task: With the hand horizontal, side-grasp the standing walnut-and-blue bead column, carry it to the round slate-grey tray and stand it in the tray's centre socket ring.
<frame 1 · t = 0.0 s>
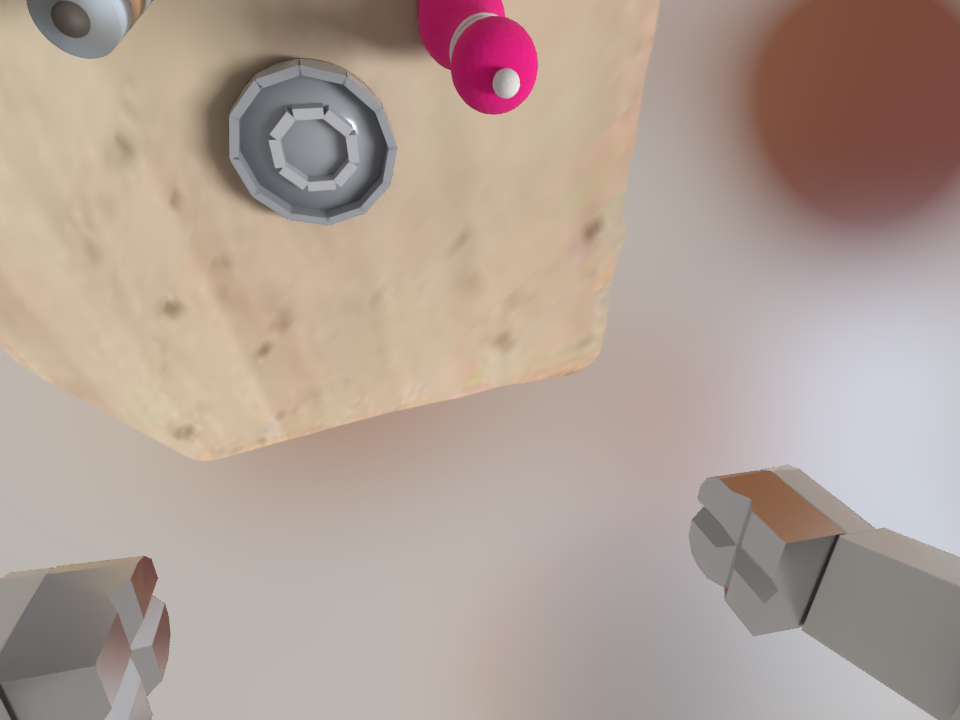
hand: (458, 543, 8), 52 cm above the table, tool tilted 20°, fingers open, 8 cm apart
pepper mill: (451, 9, 49), on the table
tray: (315, 142, 54), on the table
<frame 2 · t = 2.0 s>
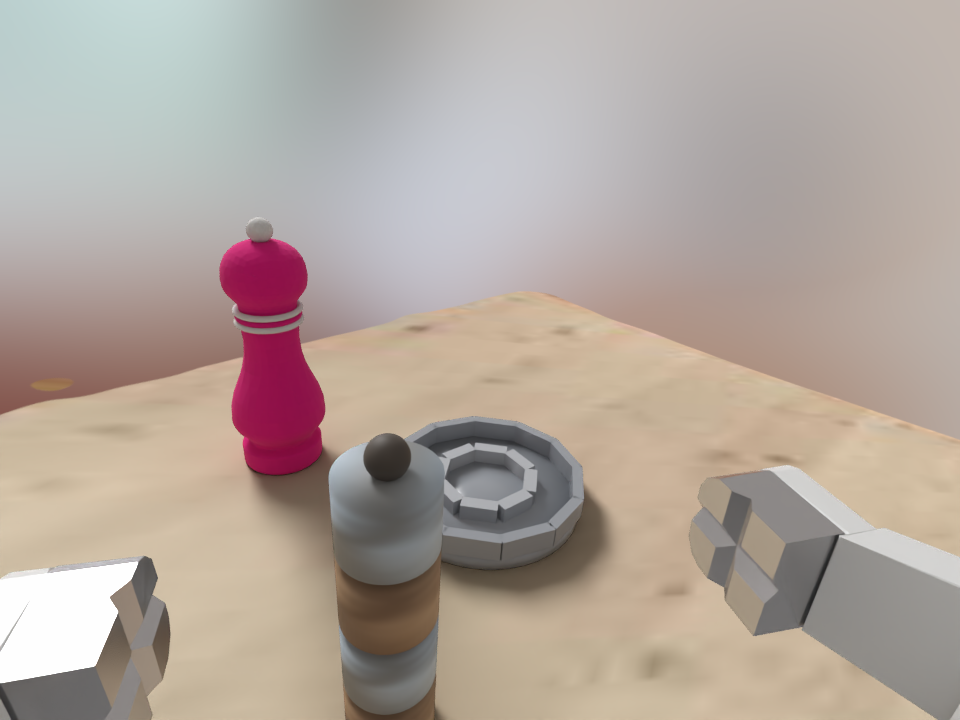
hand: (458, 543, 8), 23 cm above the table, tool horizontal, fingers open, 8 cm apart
bead column: (390, 718, 28), on the table
pepper mill: (284, 455, 47), on the table
tray: (483, 495, 44), on the table
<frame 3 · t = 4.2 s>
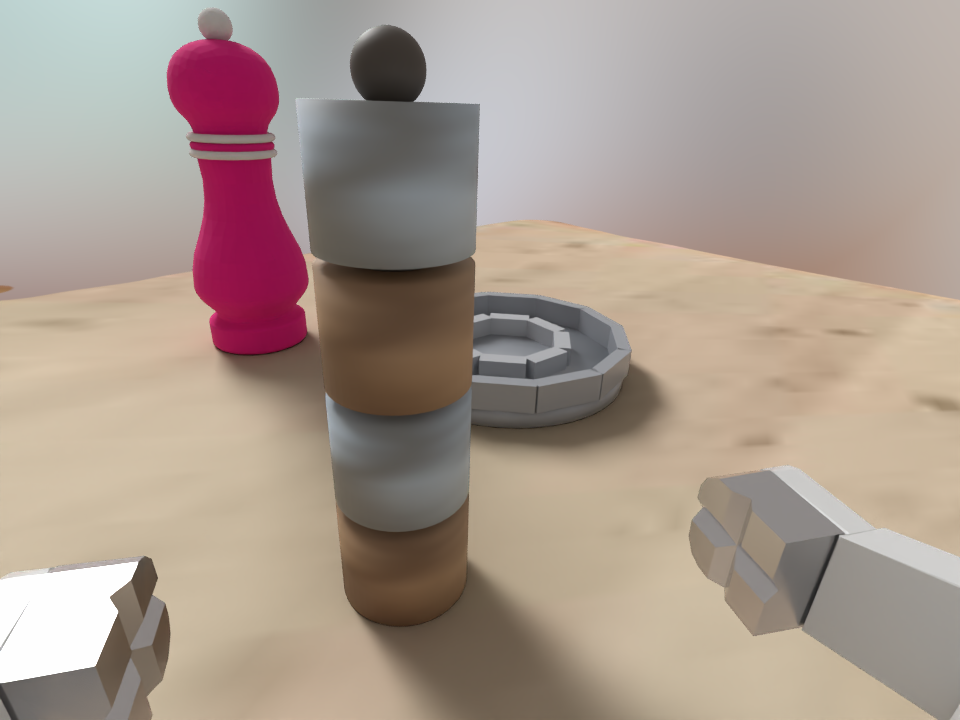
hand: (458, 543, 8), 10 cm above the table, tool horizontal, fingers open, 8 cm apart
bead column: (406, 574, 20), on the table
pepper mill: (261, 340, 39), on the table
tray: (504, 366, 36), on the table
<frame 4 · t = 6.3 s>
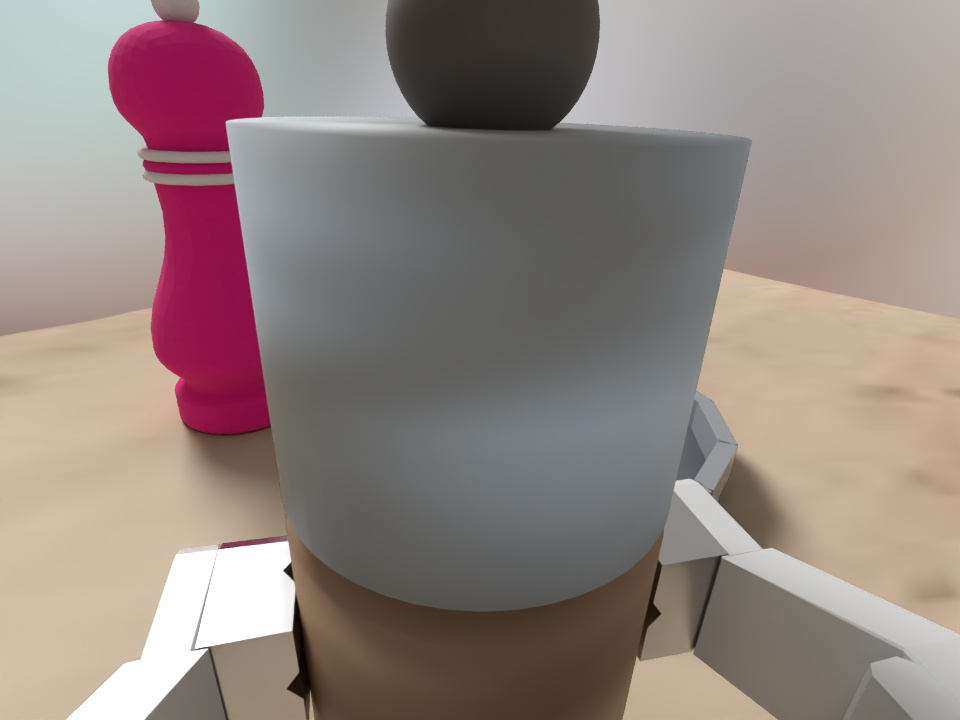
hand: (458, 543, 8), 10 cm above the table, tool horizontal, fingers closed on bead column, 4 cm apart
pepper mill: (244, 408, 31), on the table
tray: (559, 453, 28), on the table
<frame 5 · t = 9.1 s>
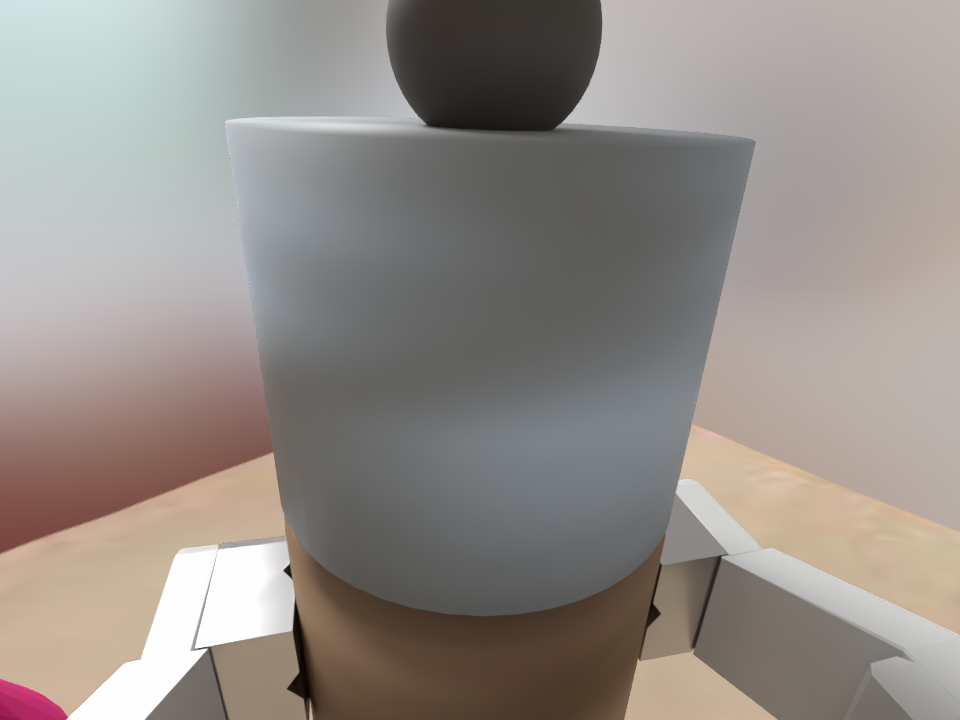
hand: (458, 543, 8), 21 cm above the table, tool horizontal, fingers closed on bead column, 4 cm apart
when the fingers open (12 cm above the table, at t = 11.9 s): bead column stays where it is, resting on tray.
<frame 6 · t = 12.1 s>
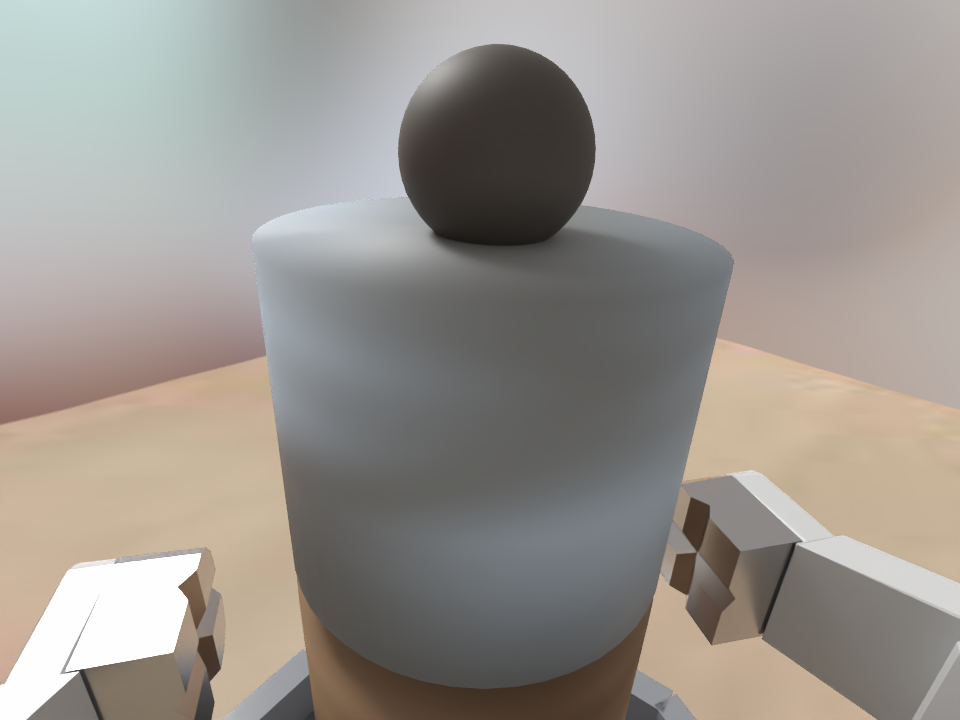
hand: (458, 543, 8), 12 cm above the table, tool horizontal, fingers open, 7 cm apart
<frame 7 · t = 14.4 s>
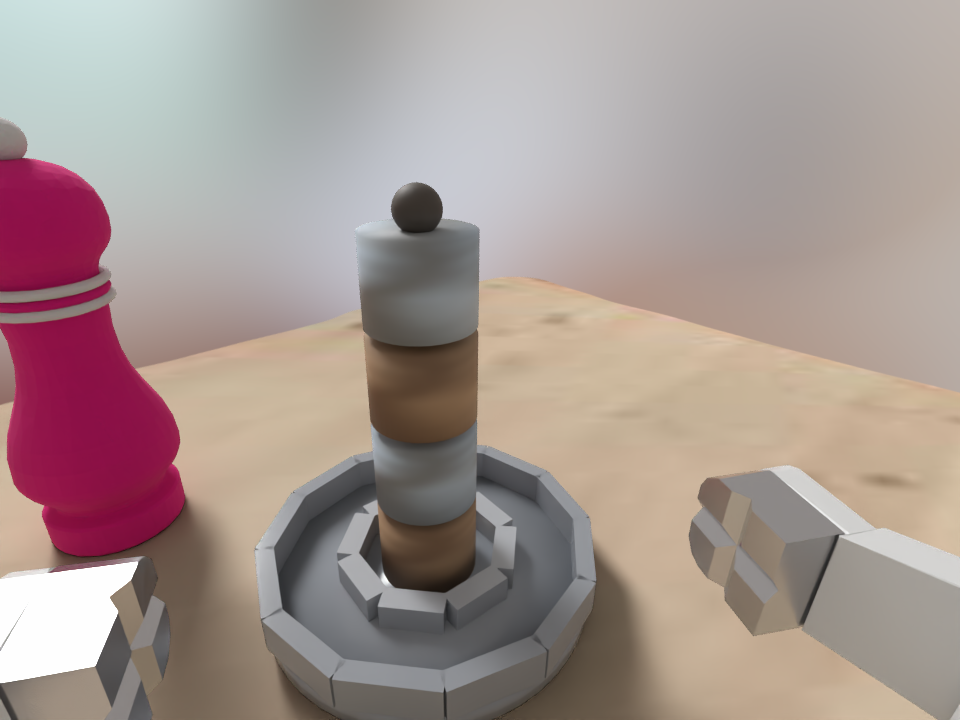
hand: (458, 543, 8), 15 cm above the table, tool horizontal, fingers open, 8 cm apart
bead column: (429, 559, 26), point 1 cm above the table, touching tray
pepper mill: (123, 518, 30), on the table
tray: (430, 574, 27), on the table
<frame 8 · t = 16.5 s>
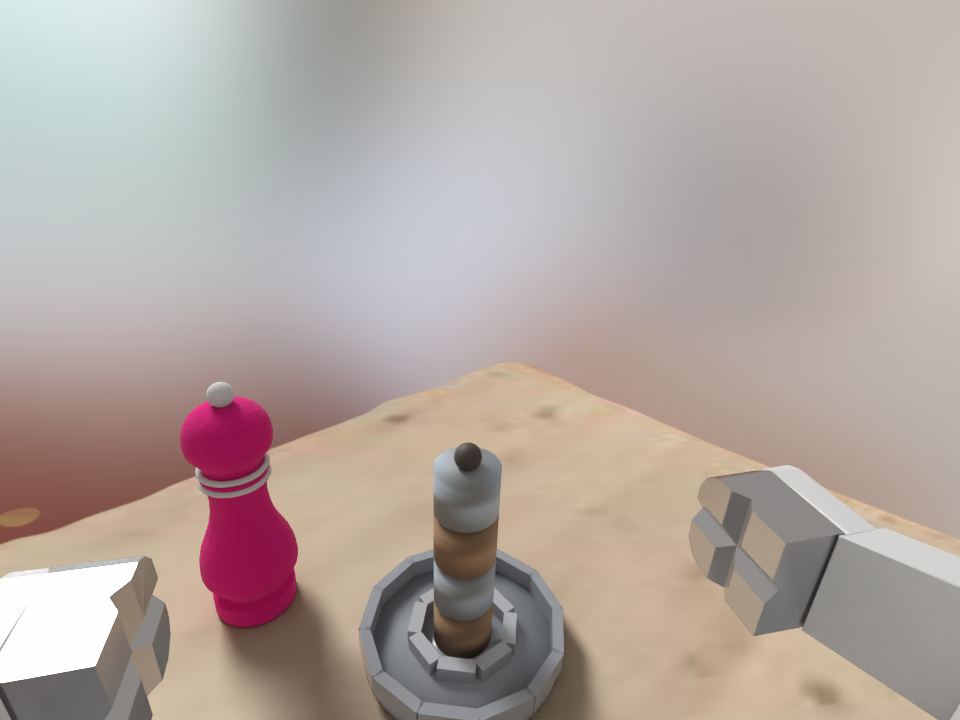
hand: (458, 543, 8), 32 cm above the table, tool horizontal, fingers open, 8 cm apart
bead column: (462, 633, 42), point 1 cm above the table, touching tray
pepper mill: (257, 598, 46), on the table
tray: (462, 641, 43), on the table
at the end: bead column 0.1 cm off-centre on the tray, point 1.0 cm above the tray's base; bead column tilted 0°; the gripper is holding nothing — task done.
